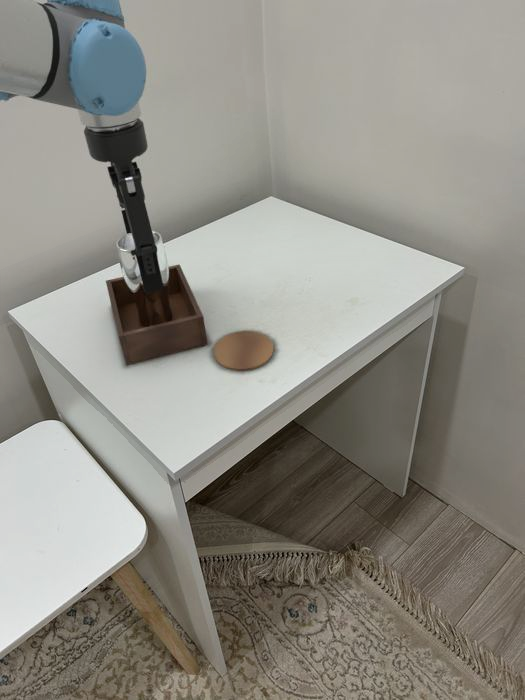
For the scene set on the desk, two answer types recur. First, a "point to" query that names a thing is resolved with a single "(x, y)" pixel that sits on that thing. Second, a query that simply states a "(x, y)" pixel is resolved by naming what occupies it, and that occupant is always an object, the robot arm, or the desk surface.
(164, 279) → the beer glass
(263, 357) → the coaster
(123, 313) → the crate
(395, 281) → the desk surface
